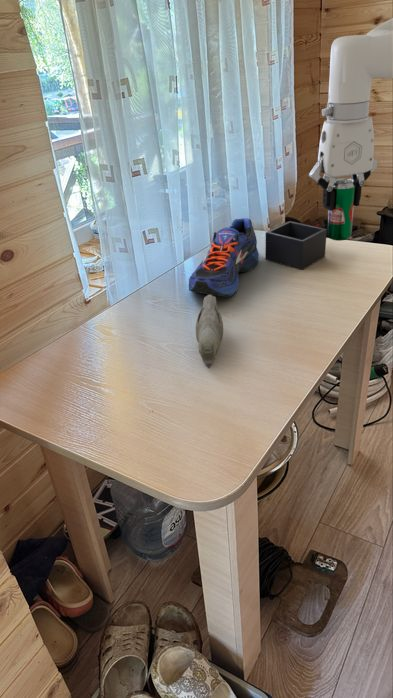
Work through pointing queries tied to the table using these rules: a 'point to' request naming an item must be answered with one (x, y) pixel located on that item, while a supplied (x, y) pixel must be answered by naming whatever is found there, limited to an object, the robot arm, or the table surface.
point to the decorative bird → (209, 330)
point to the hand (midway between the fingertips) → (341, 205)
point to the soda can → (342, 210)
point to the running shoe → (226, 260)
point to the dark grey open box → (295, 244)
